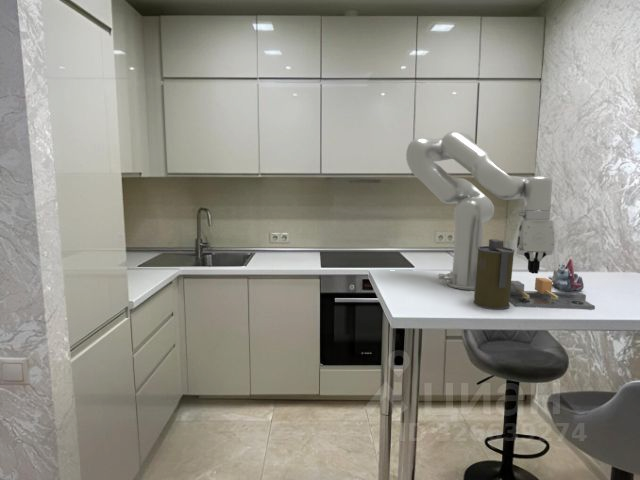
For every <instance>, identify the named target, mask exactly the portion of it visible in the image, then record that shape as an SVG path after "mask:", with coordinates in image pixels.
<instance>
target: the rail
mask: <svg viewBox="0 0 640 480" xmlns="http://www.w3.org/2000/svg"><path fill="white" fill-rule="evenodd" d="M524 292H525V293H527V294H528V295H530V298H534V299H551V296H550V295H548V294H541V293H540V292H538V291H536V290H524ZM551 293H553V294H555V295H557V296H558V297H559V298H558V299H562V300H584V301H586V299H587V295H586V294H585V293H583V292H572V291H571V292H566V291H551ZM510 298H523V295H522V294H514V293H513V292H511V291H510Z"/></svg>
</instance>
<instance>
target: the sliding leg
mask: <svg viewBox="0 0 640 480" xmlns="http://www.w3.org/2000/svg"><path fill="white" fill-rule="evenodd" d="M552 284H553V282H552V281H551V280H550V279H549V278H546V277H535V284H534V291H538V292H540V293H541V294H548V295H550V296H551V301H555V299H558V298H559V297H558V296H557V295H555V294H553V293H551V292H552V289H553V286H552Z"/></svg>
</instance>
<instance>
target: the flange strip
mask: <svg viewBox="0 0 640 480" xmlns="http://www.w3.org/2000/svg"><path fill="white" fill-rule="evenodd" d="M509 303H511V304H513V306H516V307H518V308H519V307H521V308H522V307H523V308H545V309H546V308H550V309H551V308H552V309H572V310H573V309H578V310H581V309H582V310H595V309H596V306H595V305H594V304H592V303H590V302H588V301H586V300H585V301H584V300H562V299H555V301H551V299H534V298H526V300H523V298H510V300H509Z"/></svg>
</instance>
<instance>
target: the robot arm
mask: <svg viewBox="0 0 640 480" xmlns="http://www.w3.org/2000/svg"><path fill="white" fill-rule="evenodd" d="M405 156H406V163H407V166H408V168H409V170H410V171H411V172H412V174H413V175H414V176H415V177H416V178H417V180H419V181H420V182H421V183H422V184H423V185H425V187H426V188H427V189H429V191H430V192H431V193H433V194H434V195H435V196H436V197H437V198H438V200H440V201H441V202H442V203H444V204H445V205H446V204H448V205H455V204H456V206H455V208H454V209H453V210H454V212H453V219H454V220H453V221H454V243H453V256H452V257H453V259H452V270H451V271H450V272H449V273H439V274H438V280H444V281H446V283H447V286H449V287H450V288H454V289H459V290H466V291H475V283H476V271H477V259H478V249H477V248H478V247H481V246H484V245H483V244H484V227H483V224H484V223H487V222H488V221H489V220H491V219H492V218H493V217H494V214H495V206H494V204H493V202H492V200H491V199H490V198H489V197H488V196H487V195H486V194H484V193H483V192H482V190H480V189H478V187H476V185H474V184H473V183H472V182H470V181H469V180H467V179H465V178H463V177H462V178H461V177H453V176H452V175H451V174H450V173H448V172H447V171H446V170H444V168H443V167H442V166H440V165H439V164H438V163H436V162H441V161H442V162H443V161H448V160H454V162H456V163H458V164H459V165H460V166H461V167H462V168H464V169H465V170H467V172H469V173H470V174H471V176H473V178H474V179H475V180H476V181H477V182H478V184H480V185H481V186H482V187H483V188H484V189H486V190H487V191H488V192H489V193H492V195H494V196H495V197H497V198H499V199H501V200H503V201H504V200H505V201H508V200H520V199H523V210H522V211H519V212H518V217H522V219H521V220H520V224H519V227H518V231H517V238H516V239H517V240H516V248H517V250H516V254H517V255H520V256H524V258H526V260H527V270H528V272H529V273H531V274H537V275H538V273H539V271H540V268H541V267H540V265H541V262H542V260H543V259H544V258H545V257H547V256H551V255H553V251H554V250H555V244H556V243H555V240H556V239H555V227H554V226H555V225H554V221H553V220H551V206H552V187H553V179H552V178H551V177H550V176H542V175H541V176H540V175H539V176H538V175H537V176H528V177H527V176H519V175H518V176H515V175H509V174H508V173H506V172H505V171H504V170H502V169H501V168H499V167H498V166H497V165H496V164H494V162H493V161H492V160H491V157H490V153H489V152H488V151H486V150H485V149H484V148H483V147H481V146H479V145H478V144H476V142H475V140H474V138H473V137H472V135H470V134H468V133H466V132H461V131H454V130H453V131H449V132H447V133H446V134H445V135H444V136H443V137H441V138H430V137H417V138H415V139H412V141H410V143H409V144H408V145H407V149H406V155H405Z"/></svg>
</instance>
